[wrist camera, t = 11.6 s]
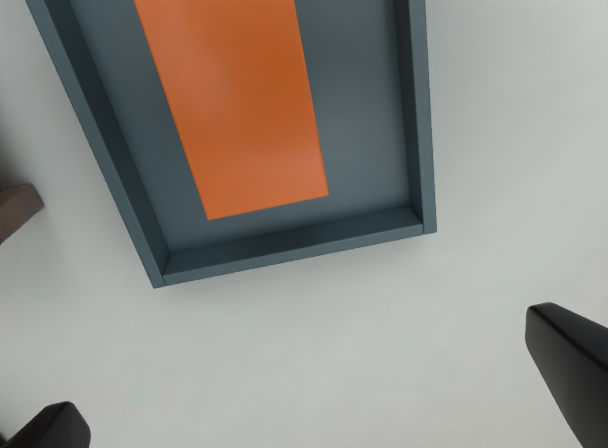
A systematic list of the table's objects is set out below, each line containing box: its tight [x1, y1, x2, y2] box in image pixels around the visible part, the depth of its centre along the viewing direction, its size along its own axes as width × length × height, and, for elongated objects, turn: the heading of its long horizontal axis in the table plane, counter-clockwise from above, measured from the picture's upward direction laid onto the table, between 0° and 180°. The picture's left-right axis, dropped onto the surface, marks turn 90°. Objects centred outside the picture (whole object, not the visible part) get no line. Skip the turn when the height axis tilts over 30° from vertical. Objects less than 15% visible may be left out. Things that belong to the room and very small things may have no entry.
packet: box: [133, 0, 329, 220], centre depth 15 cm, size 4×7×6 cm, turn 11°
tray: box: [26, 0, 437, 288], centre depth 17 cm, size 13×16×2 cm
